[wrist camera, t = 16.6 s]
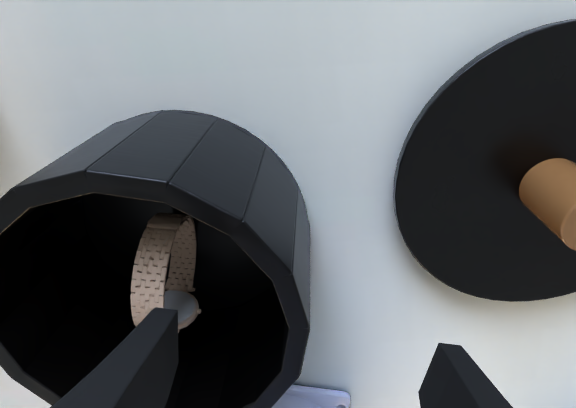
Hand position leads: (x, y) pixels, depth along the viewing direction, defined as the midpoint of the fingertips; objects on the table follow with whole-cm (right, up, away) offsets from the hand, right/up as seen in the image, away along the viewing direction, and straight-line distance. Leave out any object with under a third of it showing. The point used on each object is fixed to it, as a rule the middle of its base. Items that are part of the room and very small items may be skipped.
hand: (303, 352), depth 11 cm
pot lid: (+10, +5, +6) cm, 13 cm away
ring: (-5, +3, +8) cm, 10 cm away
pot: (-5, +3, +8) cm, 10 cm away
